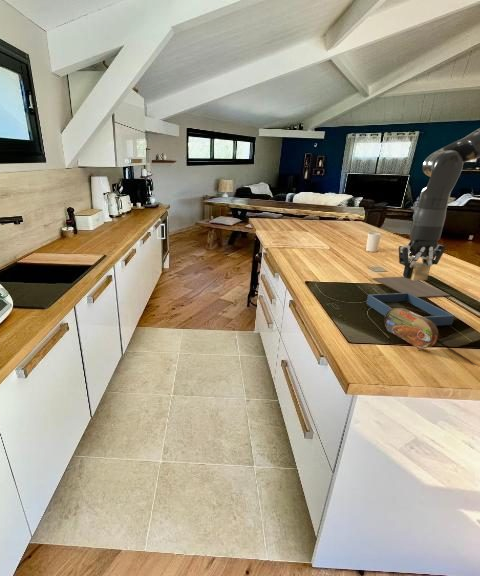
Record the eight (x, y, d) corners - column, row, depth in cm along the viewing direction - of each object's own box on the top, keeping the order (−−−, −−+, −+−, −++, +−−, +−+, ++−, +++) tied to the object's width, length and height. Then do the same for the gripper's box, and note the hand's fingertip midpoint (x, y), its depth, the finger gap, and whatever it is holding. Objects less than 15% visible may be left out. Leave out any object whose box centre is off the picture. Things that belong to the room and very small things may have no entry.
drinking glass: (377, 252, 180) (381, 235, 176) (364, 251, 183) (367, 234, 179) (378, 249, 185) (381, 233, 182) (365, 248, 188) (368, 232, 185)
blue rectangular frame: (405, 302, 113) (408, 292, 112) (451, 327, 95) (454, 315, 94) (365, 304, 112) (367, 294, 111) (404, 330, 94) (407, 318, 93)
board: (406, 279, 137) (407, 276, 136) (449, 298, 116) (450, 295, 116) (372, 281, 135) (372, 278, 135) (409, 301, 115) (410, 297, 114)
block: (416, 275, 102) (419, 261, 100) (427, 280, 97) (430, 265, 96) (402, 276, 101) (405, 262, 100) (413, 280, 97) (416, 266, 95)
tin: (381, 328, 96) (386, 303, 93) (389, 327, 96) (395, 302, 93) (426, 355, 82) (434, 326, 79) (435, 353, 83) (444, 325, 80)
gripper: (414, 226, 89) (401, 282, 95) (461, 224, 90) (445, 280, 96) (396, 222, 96) (385, 275, 102) (440, 220, 97) (426, 272, 103)
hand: (414, 277), depth 99 cm, fingers closed on block, 4 cm apart
